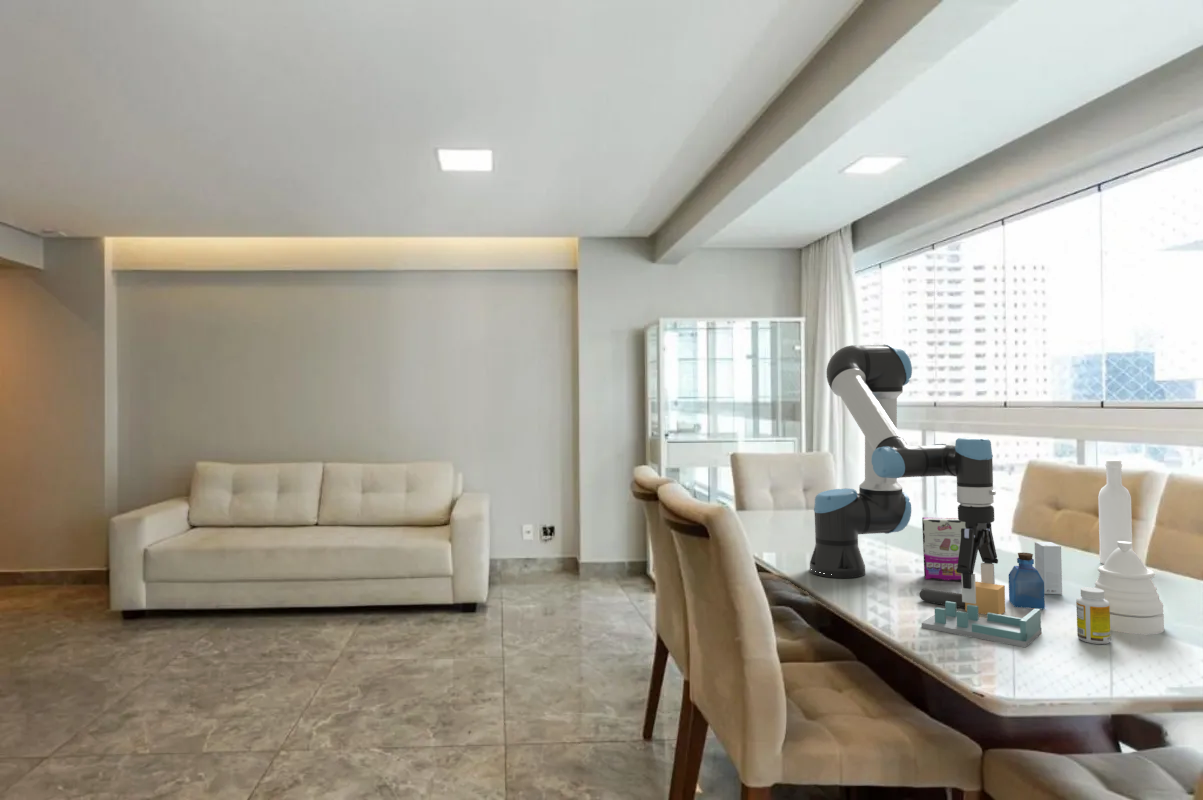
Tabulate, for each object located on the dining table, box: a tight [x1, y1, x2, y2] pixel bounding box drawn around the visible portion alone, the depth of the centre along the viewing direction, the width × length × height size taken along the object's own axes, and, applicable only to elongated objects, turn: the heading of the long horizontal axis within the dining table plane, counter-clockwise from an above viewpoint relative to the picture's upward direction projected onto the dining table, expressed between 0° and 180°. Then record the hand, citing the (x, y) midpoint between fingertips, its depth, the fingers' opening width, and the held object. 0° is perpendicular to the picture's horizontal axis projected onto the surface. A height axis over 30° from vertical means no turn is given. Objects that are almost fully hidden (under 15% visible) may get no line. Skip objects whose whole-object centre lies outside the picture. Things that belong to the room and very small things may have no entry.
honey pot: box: [1093, 541, 1165, 635], centre depth 157 cm, size 13×13×18 cm
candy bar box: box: [921, 516, 967, 582], centre depth 200 cm, size 11×5×16 cm, turn 68°
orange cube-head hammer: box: [919, 580, 1006, 616], centre depth 173 cm, size 18×5×6 cm, turn 46°
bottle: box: [1097, 459, 1134, 565], centre depth 212 cm, size 8×8×30 cm
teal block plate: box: [921, 601, 1042, 648], centre depth 155 cm, size 20×12×5 cm, turn 46°
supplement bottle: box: [1075, 586, 1112, 645], centre depth 147 cm, size 6×6×10 cm
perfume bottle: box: [1008, 552, 1046, 610], centre depth 173 cm, size 6×6×12 cm
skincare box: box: [1034, 541, 1063, 595], centre depth 184 cm, size 6×4×12 cm
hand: (979, 596), depth 169 cm, fingers open, 13 cm apart
